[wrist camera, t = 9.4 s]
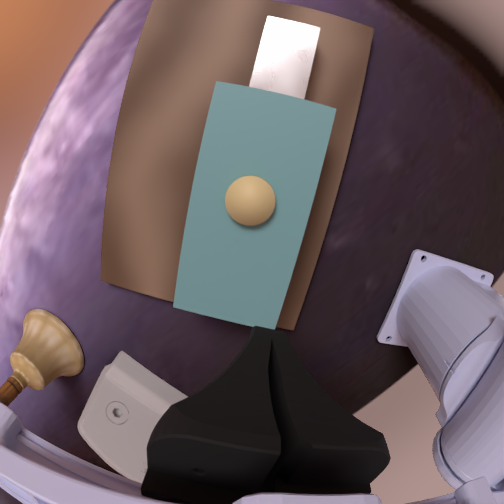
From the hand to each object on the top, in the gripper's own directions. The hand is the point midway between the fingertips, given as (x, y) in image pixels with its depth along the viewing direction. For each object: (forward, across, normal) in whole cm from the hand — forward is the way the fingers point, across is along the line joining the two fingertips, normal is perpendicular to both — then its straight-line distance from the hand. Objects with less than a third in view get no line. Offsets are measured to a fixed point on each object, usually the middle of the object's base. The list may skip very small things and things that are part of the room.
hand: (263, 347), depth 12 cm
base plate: (+9, +4, -7) cm, 13 cm away
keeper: (+8, +2, -4) cm, 10 cm away
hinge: (+10, +5, +18) cm, 21 cm away
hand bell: (+10, +19, +14) cm, 26 cm away
